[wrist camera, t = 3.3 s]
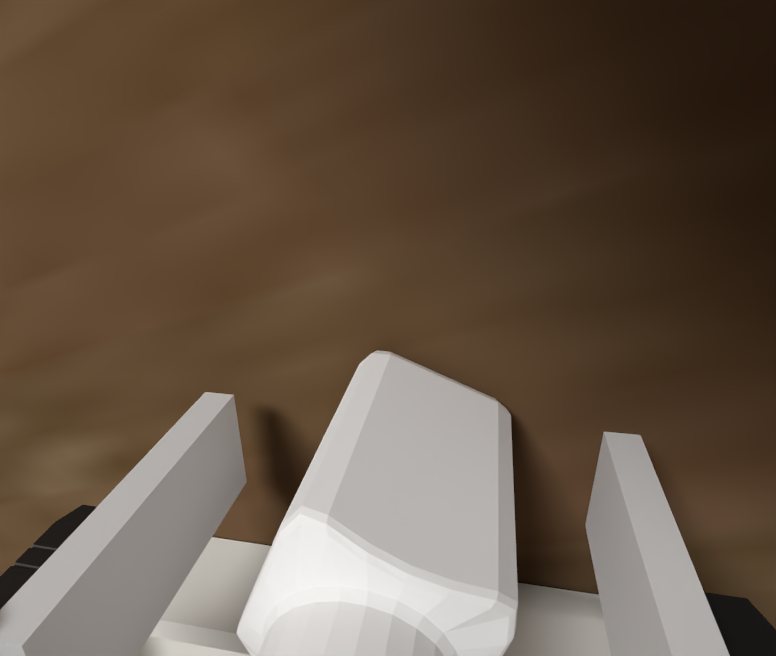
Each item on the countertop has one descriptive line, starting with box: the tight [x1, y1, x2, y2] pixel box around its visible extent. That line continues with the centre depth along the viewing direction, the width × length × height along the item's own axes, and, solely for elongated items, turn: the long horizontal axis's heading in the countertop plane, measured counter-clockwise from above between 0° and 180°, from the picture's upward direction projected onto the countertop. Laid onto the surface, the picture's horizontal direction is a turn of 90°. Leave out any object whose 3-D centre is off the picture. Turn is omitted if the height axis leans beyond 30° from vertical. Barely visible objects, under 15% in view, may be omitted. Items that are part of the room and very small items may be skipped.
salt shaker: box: [236, 350, 518, 656], centre depth 10 cm, size 4×4×10 cm
